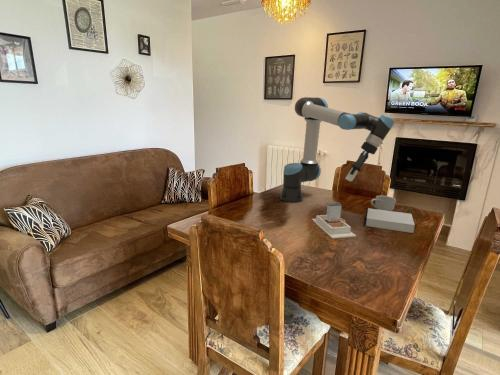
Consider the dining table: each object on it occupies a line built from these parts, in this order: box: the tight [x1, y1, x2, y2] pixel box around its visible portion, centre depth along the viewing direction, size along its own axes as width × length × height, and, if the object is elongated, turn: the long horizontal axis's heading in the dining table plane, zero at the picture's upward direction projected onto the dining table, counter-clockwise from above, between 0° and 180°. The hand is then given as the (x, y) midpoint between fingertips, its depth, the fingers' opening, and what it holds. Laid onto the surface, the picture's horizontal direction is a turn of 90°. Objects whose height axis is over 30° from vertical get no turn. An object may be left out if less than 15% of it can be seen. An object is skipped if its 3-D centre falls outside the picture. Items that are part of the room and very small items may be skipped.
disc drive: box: [364, 207, 415, 234], centre depth 155 cm, size 18×22×5 cm
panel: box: [326, 201, 343, 223], centre depth 147 cm, size 6×3×12 cm, turn 102°
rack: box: [311, 214, 357, 240], centre depth 148 cm, size 12×24×4 cm, turn 12°
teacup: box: [370, 194, 397, 211], centre depth 173 cm, size 14×11×8 cm
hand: (348, 180), depth 155 cm, fingers open, 13 cm apart
